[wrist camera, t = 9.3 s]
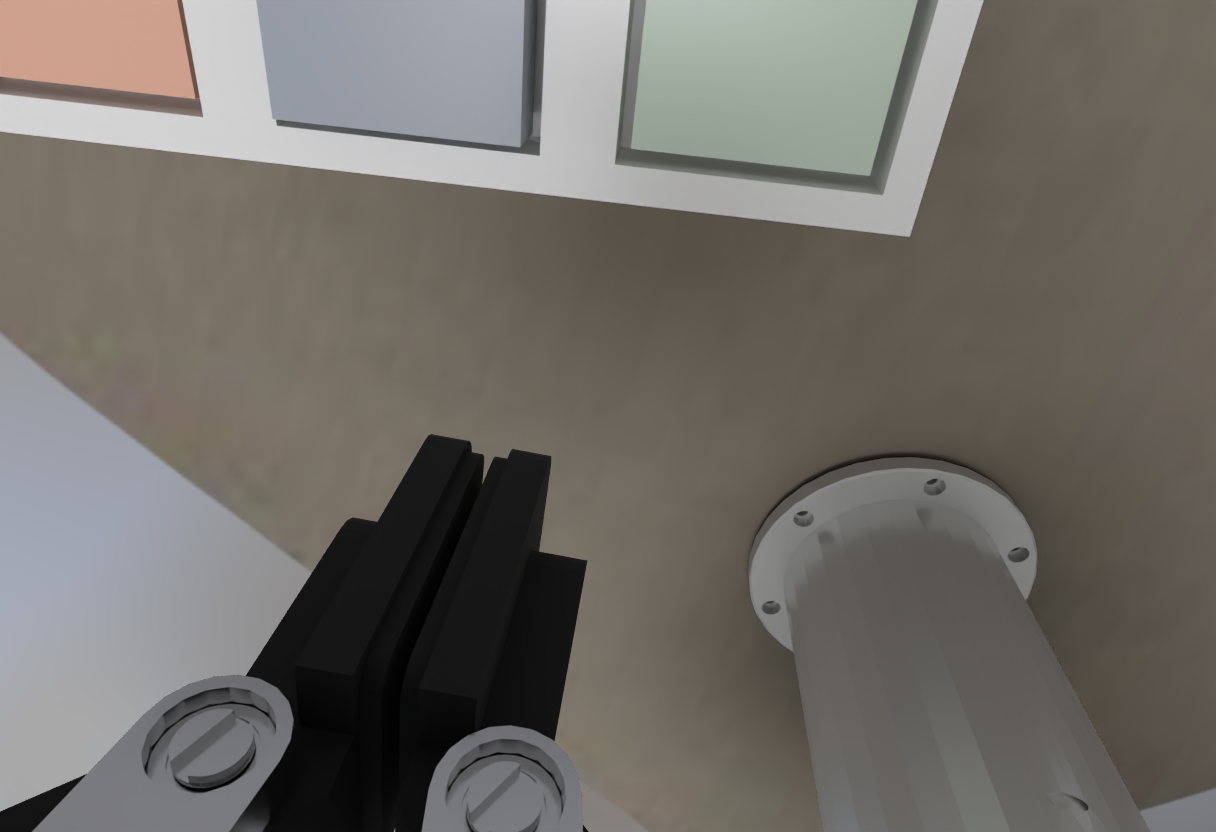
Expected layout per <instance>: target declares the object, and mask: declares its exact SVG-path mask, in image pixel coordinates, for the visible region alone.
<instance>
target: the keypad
mask: <svg viewBox="0 0 1216 832" xmlns="http://www.w3.org/2000/svg"><path fill="white" fill-rule="evenodd" d="M182 2H183V8H184V13H185V19H186V24H187V30H188V35H189V41H190V46H191V52H192V57H193V63H194V68H195V74H196V79H197V85H198V90H199V96H200V98H197V99H191V98H182V97H173V96H165V95H156V94H147V93H138V92H130V91H121V90H112V89H103V88H95V87H86V86H77V85H68V84H60V83H51V82H42V81H33V80H25V79H16V78H7V77H0V131H1V132H10V133H18V134H27V135H35V136H44V137H53V138H61V139H70V140H79V141H87V142H96V143H104V144H113V145H122V146H130V147H139V148H148V149H156V150H165V151H173V152H182V153H191V154H199V155H208V156H217V157H225V158H234V159H242V160H251V161H260V162H268V163H277V164H286V165H294V166H303V167H312V168H320V169H329V170H337V171H346V172H355V173H363V174H372V175H381V176H389V177H398V178H406V179H415V180H424V181H432V182H441V183H450V184H458V185H467V186H475V187H484V188H493V189H501V190H510V191H519V192H527V193H536V194H544V195H553V196H562V197H570V198H579V199H588V200H596V201H605V202H613V203H622V204H631V205H639V206H648V207H657V208H665V209H674V210H682V211H691V212H700V213H708V214H717V215H726V216H734V217H743V218H751V219H760V220H769V221H777V222H786V223H795V224H803V225H812V226H820V227H829V228H838V229H846V230H855V231H864V232H872V233H881V234H889V235H898V236H907V237H910V234H911V231H912V228H913V225H914V221H915V218H916V215H917V212H918V209H919V205H920V202H921V199H922V196H923V193H924V189H925V186H926V183H927V180H928V177H929V173H930V170H931V167H932V164H933V161H934V157H935V154H936V151H937V148H938V145H939V141H940V138H941V135H942V132H943V129H944V125H945V122H946V119H947V116H948V113H949V109H950V106H951V103H952V100H953V97H954V93H955V90H956V87H957V84H958V80H959V77H960V74H961V71H962V68H963V64H964V61H965V58H966V55H967V52H968V48H969V45H970V42H971V39H972V36H973V32H974V29H975V26H976V23H977V20H978V16H979V13H980V10H981V7H982V4H983V0H918V1H917V5H916V8H915V12H914V16H913V19H912V23H911V27H910V30H909V34H908V38H907V41H906V45H905V49H904V52H903V56H902V60H901V64H900V67H899V71H898V75H897V78H896V82H895V86H894V89H893V93H892V97H891V100H890V104H889V108H888V111H887V115H886V119H885V122H884V126H883V130H882V133H881V137H880V141H879V145H878V148H877V152H876V156H875V159H874V163H873V167H872V170H871V174H870V176H866V175H857V174H848V173H840V172H831V171H822V170H813V169H805V168H796V167H787V166H778V165H770V164H761V163H752V162H743V161H735V160H726V159H717V158H708V157H699V156H691V155H682V154H673V153H664V152H656V151H647V150H638V149H631V142H632V133H633V123H634V114H635V104H636V94H637V85H638V75H639V66H640V56H641V47H642V37H643V27H644V18H645V8H646V0H537V26H536V53H535V80H534V107H533V133H532V134H531V136H530V137H529V138H528V139H527V140H526V141H525V143H524V144H523V145H522V146H521V147H512V146H503V145H495V144H486V143H477V142H468V141H460V140H451V139H442V138H433V137H425V136H416V135H407V134H399V133H390V132H381V131H372V130H364V129H355V128H346V127H337V126H329V125H320V124H311V123H303V122H294V121H285V120H276V119H272V112H271V105H270V98H269V90H268V83H267V76H266V68H265V61H264V54H263V46H262V39H261V31H260V24H259V17H258V9H257V2H256V0H182Z"/></svg>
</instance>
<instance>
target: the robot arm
mask: <svg viewBox="0 0 1216 832" xmlns="http://www.w3.org/2000/svg"><path fill="white" fill-rule="evenodd" d="M550 468H551V456H547V455H542V454H537V453H531V452H526V451H520V450H515V449H512V450H511V452H510V454H509V456H508V459H505V458H500V457H494V459H493V461H492V463H491V465H490V468H489V470H488V473H487V475H486V477H485V480H484V482H483V484H482V481H483V469H484V455H483V454H478V453H473V452H472V447H471V443H470V441H466V440H460V439H455V438H449V437H444V436H438V435H433V434H431V435H429V436H428V437H427V438H426V440H425V441H424V443H423V445H422V447H421V448H420V450H419V452H418V453H417V455H416V457H415V459H414V460H413V462H412V464H411V465H410V467H409V469H408V471H407V472H406V474H405V476H404V477H403V479H402V481H401V483H400V484H399V486H398V488H397V489H396V491H395V493H394V495H393V496H392V498H391V500H390V501H389V503H388V505H387V507H386V508H385V510H384V512H383V513H382V515H381V517H380V519H379V520H378V522H375V521H369V520H364V519H358V518H351V519H349V520H347V521H346V522H345V524H344V525H343V526H342V527H341V529H340V530H339V532H338V533H337V535H336V537H335V538H334V540H333V541H332V543H331V544H330V546H329V547H328V549H327V551H326V552H325V554H324V555H323V557H322V558H321V560H320V561H319V563H318V564H317V566H316V568H315V569H314V571H313V572H312V574H311V575H310V577H309V579H308V580H307V582H306V583H305V585H304V586H303V588H302V590H301V591H300V593H299V594H298V596H297V597H296V599H295V600H294V602H293V603H292V605H291V606H290V608H289V610H288V611H287V613H286V614H285V616H284V617H283V619H282V620H281V622H280V624H279V625H278V627H277V628H276V630H275V631H274V633H273V634H272V636H271V637H270V639H269V641H268V642H267V644H266V645H265V647H264V648H263V650H262V651H261V653H260V655H259V656H258V658H257V659H256V661H255V662H254V664H253V666H252V667H251V668H250V670H249V672H248V673H247V675H246V676H241V675H230V676H217V677H211V678H208V679H204V680H201V681H198V682H194V683H191V684H188V685H186V686H184V687H182V688H181V689H179V690H177V691H175V692H173V693H171V694H169V695H167V696H166V697H164V698H163V699H162V700H161V701H160V702H158V703H157V704H156V705H155V706H153V707H152V708H151V709H150V710H149V711H147V712H146V713H145V714H144V715H143V716H142V717H141V718H140V719H139V720H138V721H137V722H136V723H135V725H133V726H132V728H131V729H130V730H129V731H128V732H127V733H126V734H125V735H124V736H123V737H122V738H121V739H120V740H119V741H118V742H117V743H116V744H115V745H114V746H113V748H112V749H111V750H110V751H109V752H108V753H107V754H106V755H105V756H104V757H103V758H102V759H101V760H100V761H99V762H98V763H97V764H96V765H95V766H94V767H93V768H92V769H91V770H90V772H89V773H88V774H86V775H83V776H81V777H79V778H76V779H74V780H72V781H70V782H67V783H65V784H63V785H61V786H58V787H56V788H53V789H51V790H49V791H47V792H44V793H42V794H40V795H37V796H35V797H33V798H30V799H28V800H26V801H24V802H21V803H19V804H17V805H14V806H12V807H10V808H7V809H5V810H3V811H1V812H0V832H394V829H395V832H588V831H587V829H586V828H585V827H584V825H583V822H582V821H583V818H582V817H583V816H582V792H581V787H580V781H579V776H578V773H577V771H576V769H575V767H574V765H573V763H572V762H571V760H570V758H569V756H568V754H567V753H566V752H565V751H563V750H562V749H561V748H560V747H559V746H558V745H557V744H556V743H555V742H554V741H555V735H556V730H557V724H558V719H559V713H560V708H561V702H562V697H563V691H564V686H565V680H566V675H567V669H568V664H569V658H570V653H571V647H572V642H573V636H574V631H575V625H576V620H577V614H578V609H579V603H580V598H581V593H582V587H583V582H584V576H585V571H586V565H587V561H586V560H581V559H576V558H570V557H565V556H559V555H554V554H548V553H543V552H539V548H540V541H541V533H542V526H543V519H544V511H545V504H546V497H547V490H548V482H549V475H550ZM1037 559H1038V553H1037V548H1036V544H1035V539H1034V535H1033V533H1032V531H1031V529H1030V527H1029V525H1028V523H1027V522H1026V520H1025V518H1024V516H1023V514H1022V513H1021V511H1020V510H1019V508H1018V507H1017V506H1016V504H1015V503H1014V502H1013V500H1012V499H1011V497H1010V496H1009V495H1008V494H1007V493H1005V492H1004V491H1003V490H1002V489H1001V488H1000V487H998V486H997V485H996V484H995V483H994V482H992V481H991V480H989V479H987V478H985V477H984V476H982V475H980V474H978V473H976V472H974V471H972V470H970V469H968V468H965V467H961V466H958V465H955V464H951V463H948V462H945V461H940V460H932V459H924V458H916V457H904V458H882V459H877V460H871V461H866V462H860V463H855V464H852V465H849V466H846V467H843V468H840V469H837V470H834V471H831V472H828V473H826V474H825V475H823V476H821V477H819V478H817V479H815V480H813V481H811V482H809V483H807V484H805V485H803V486H802V487H801V488H799V489H798V490H797V491H795V492H794V493H793V494H791V495H790V496H789V497H787V498H786V499H785V500H783V501H782V503H781V504H780V505H779V506H778V507H777V508H776V509H775V510H774V511H773V512H772V513H771V514H770V515H769V517H768V518H767V519H766V521H765V522H764V524H763V526H762V527H761V529H760V531H759V532H758V534H757V536H756V537H755V540H754V543H753V546H752V550H751V553H750V556H749V568H748V579H749V586H750V596H751V600H752V603H753V606H754V610H755V612H756V614H757V616H758V617H759V619H760V621H761V622H762V624H763V625H764V627H765V628H766V630H767V631H768V632H769V633H770V634H771V635H772V636H773V637H774V638H775V639H776V640H777V641H778V642H779V643H780V644H781V645H783V646H784V647H786V648H787V649H789V650H790V651H792V652H793V653H794V658H795V665H796V671H797V677H798V683H799V689H800V695H801V701H802V707H803V713H804V720H805V726H806V732H807V738H808V744H809V750H810V756H811V762H812V768H813V775H814V781H815V787H816V793H817V799H818V805H819V811H820V817H821V823H822V830H823V832H1150V830H1149V829H1148V827H1147V825H1146V823H1145V821H1144V819H1143V817H1142V816H1141V814H1140V812H1139V810H1138V808H1137V806H1136V804H1135V803H1134V801H1133V799H1132V797H1131V795H1130V793H1129V791H1128V790H1127V788H1126V786H1125V784H1124V782H1123V780H1122V778H1121V777H1120V775H1119V773H1118V771H1117V769H1116V767H1115V765H1114V764H1113V762H1112V760H1111V758H1110V756H1109V754H1108V753H1107V751H1106V749H1105V747H1104V745H1103V743H1102V741H1101V740H1100V738H1099V736H1098V734H1097V732H1096V730H1095V728H1094V727H1093V725H1092V723H1091V721H1090V719H1089V717H1088V715H1087V714H1086V712H1085V710H1084V708H1083V706H1082V704H1081V702H1080V701H1079V699H1078V697H1077V695H1076V693H1075V691H1074V690H1073V688H1072V686H1071V684H1070V682H1069V680H1068V678H1067V677H1066V675H1065V673H1064V671H1063V669H1062V667H1061V665H1060V664H1059V662H1058V660H1057V658H1056V656H1055V654H1054V652H1053V651H1052V649H1051V647H1050V645H1049V643H1048V641H1047V639H1046V638H1045V636H1044V634H1043V632H1042V630H1041V628H1040V627H1039V625H1038V623H1037V621H1036V619H1035V617H1034V615H1033V614H1032V612H1031V610H1030V608H1029V606H1028V604H1027V602H1026V600H1027V598H1028V596H1029V595H1030V592H1031V589H1032V586H1033V583H1034V580H1035V577H1036V574H1037Z"/></svg>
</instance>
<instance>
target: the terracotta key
mask: <svg viewBox="0 0 1216 832" xmlns="http://www.w3.org/2000/svg"><path fill="white" fill-rule="evenodd" d="M0 77H7V78H16V79H25V80H33V81H42V82H51V83H60V84H68V85H77V86H86V87H95V88H103V89H112V90H121V91H130V92H138V93H147V94H156V95H165V96H173V97H182V98H191V99H197V98H200V96H199V90H198V85H197V79H196V74H195V68H194V63H193V57H192V52H191V46H190V41H189V35H188V30H187V24H186V19H185V13H184V8H183V2H182V0H0Z"/></svg>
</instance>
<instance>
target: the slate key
mask: <svg viewBox="0 0 1216 832" xmlns="http://www.w3.org/2000/svg"><path fill="white" fill-rule="evenodd" d="M256 2H257V9H258V17H259V24H260V31H261V39H262V46H263V54H264V61H265V68H266V76H267V83H268V90H269V98H270V105H271V112H272V119H276V120H285V121H294V122H303V123H311V124H320V125H329V126H337V127H346V128H355V129H364V130H372V131H381V132H390V133H399V134H407V135H416V136H425V137H433V138H442V139H451V140H460V141H468V142H477V143H486V144H495V145H503V146H512V147H521V146H522V145H523V144H524V143H525V141H526V140H527V139H528V138H529V137H530V136H531V134H532V133H533V107H534V80H535V53H536V26H537V0H256Z"/></svg>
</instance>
